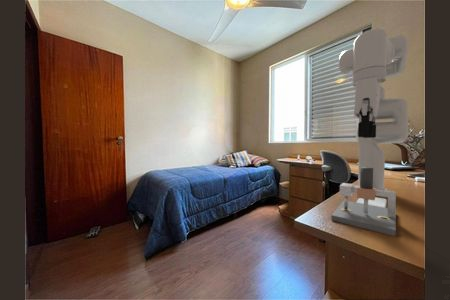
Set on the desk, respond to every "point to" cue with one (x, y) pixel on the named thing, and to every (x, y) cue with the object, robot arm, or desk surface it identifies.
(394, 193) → the light grey bracket
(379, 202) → the hard drive
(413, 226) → the desk surface
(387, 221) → the bolt plate
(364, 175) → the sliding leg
